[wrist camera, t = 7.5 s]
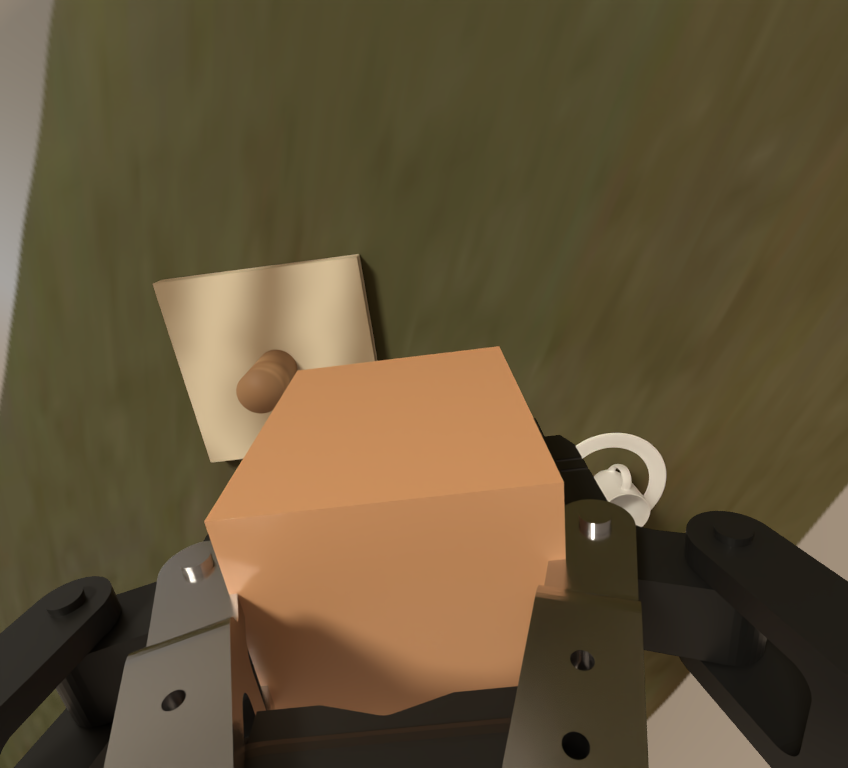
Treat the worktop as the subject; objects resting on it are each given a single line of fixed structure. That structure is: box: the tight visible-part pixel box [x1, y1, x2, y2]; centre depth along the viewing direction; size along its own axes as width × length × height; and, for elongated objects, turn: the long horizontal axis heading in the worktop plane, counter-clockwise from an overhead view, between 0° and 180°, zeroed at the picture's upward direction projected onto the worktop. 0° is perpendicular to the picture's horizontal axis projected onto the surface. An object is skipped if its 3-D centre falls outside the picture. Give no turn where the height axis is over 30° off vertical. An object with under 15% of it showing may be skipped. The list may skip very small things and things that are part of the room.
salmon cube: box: [204, 346, 566, 715], centre depth 11 cm, size 5×5×6 cm
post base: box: [153, 254, 378, 462], centre depth 30 cm, size 12×12×5 cm
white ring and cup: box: [576, 433, 666, 527], centre depth 35 cm, size 9×8×4 cm
